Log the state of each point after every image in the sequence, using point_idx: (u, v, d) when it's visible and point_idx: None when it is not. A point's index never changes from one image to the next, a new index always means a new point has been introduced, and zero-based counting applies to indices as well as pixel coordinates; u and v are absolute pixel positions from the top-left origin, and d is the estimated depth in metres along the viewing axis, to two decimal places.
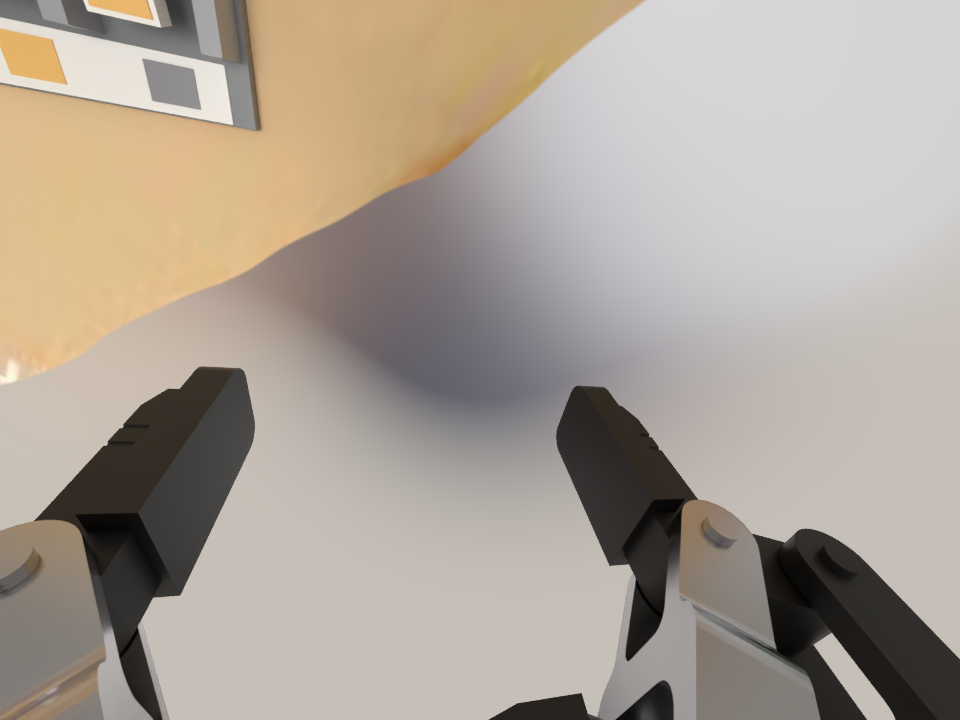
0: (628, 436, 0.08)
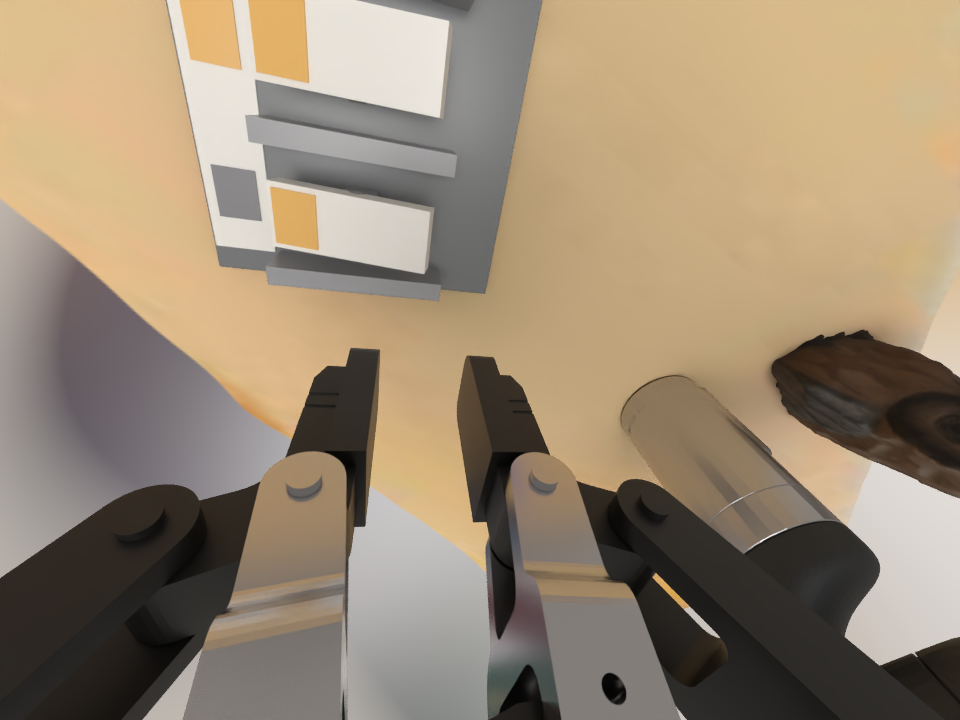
0: (494, 398, 0.08)
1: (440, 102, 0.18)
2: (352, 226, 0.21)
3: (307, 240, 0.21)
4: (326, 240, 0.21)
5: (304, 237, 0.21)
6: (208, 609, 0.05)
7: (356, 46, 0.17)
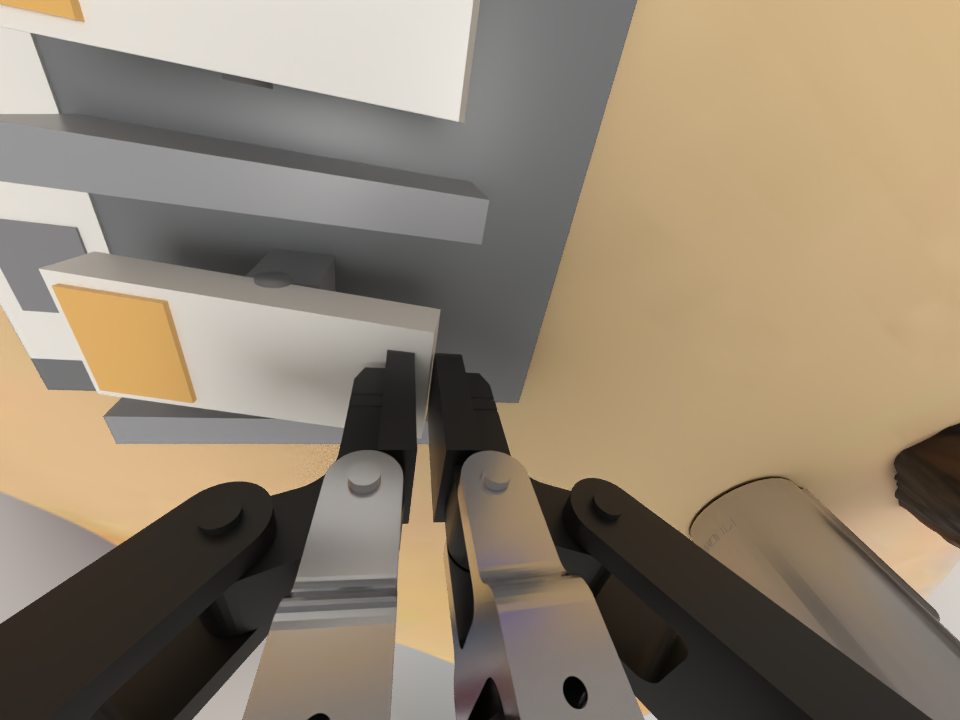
0: (456, 396, 0.08)
1: (461, 78, 0.06)
2: (262, 359, 0.10)
3: (167, 386, 0.10)
4: (210, 384, 0.10)
5: (159, 381, 0.10)
6: (276, 602, 0.05)
7: None
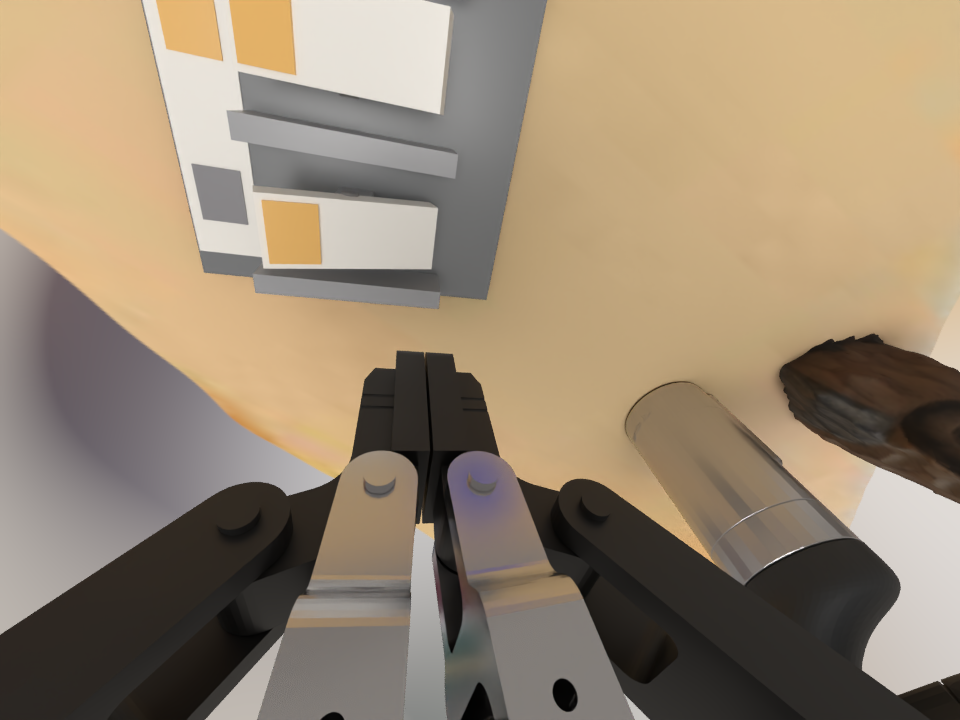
0: (445, 396, 0.08)
1: (440, 97, 0.16)
2: (359, 232, 0.20)
3: (309, 255, 0.19)
4: (330, 251, 0.20)
5: (305, 252, 0.19)
6: (292, 602, 0.05)
7: (347, 34, 0.15)
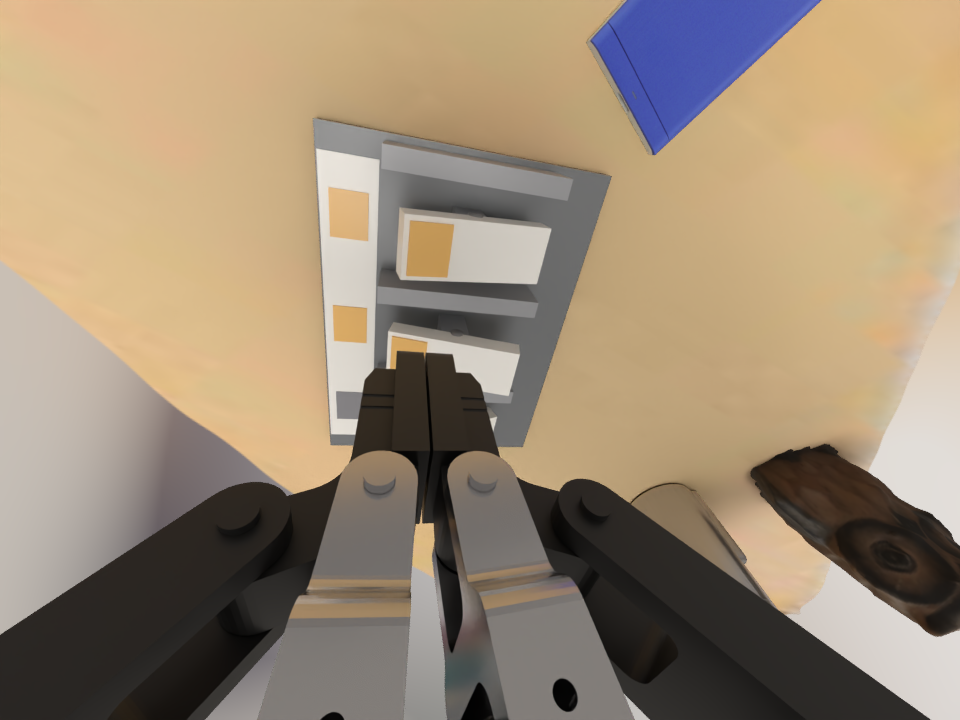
0: (445, 396, 0.08)
1: None
2: None
3: None
4: None
5: None
6: (293, 603, 0.05)
7: (457, 363, 0.26)
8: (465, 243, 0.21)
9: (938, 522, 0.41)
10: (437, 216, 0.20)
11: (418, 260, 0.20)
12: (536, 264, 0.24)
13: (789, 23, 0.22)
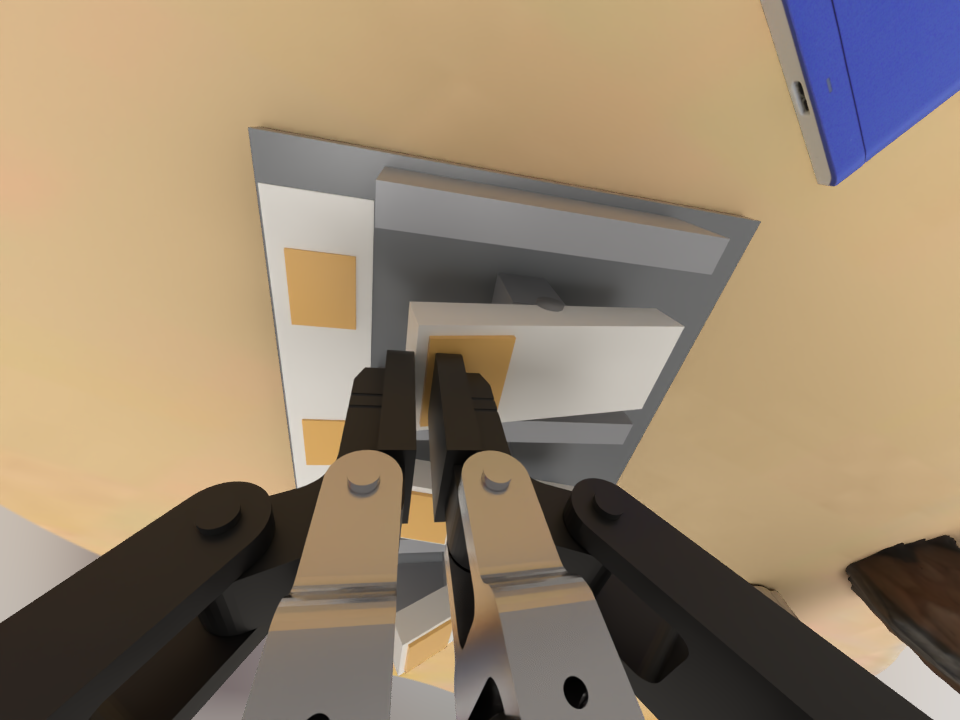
0: (457, 396, 0.08)
1: None
2: None
3: (438, 648, 0.19)
4: None
5: (436, 649, 0.19)
6: (275, 602, 0.05)
7: None
8: (532, 363, 0.11)
9: None
10: (483, 322, 0.10)
11: None
12: (647, 381, 0.13)
13: None
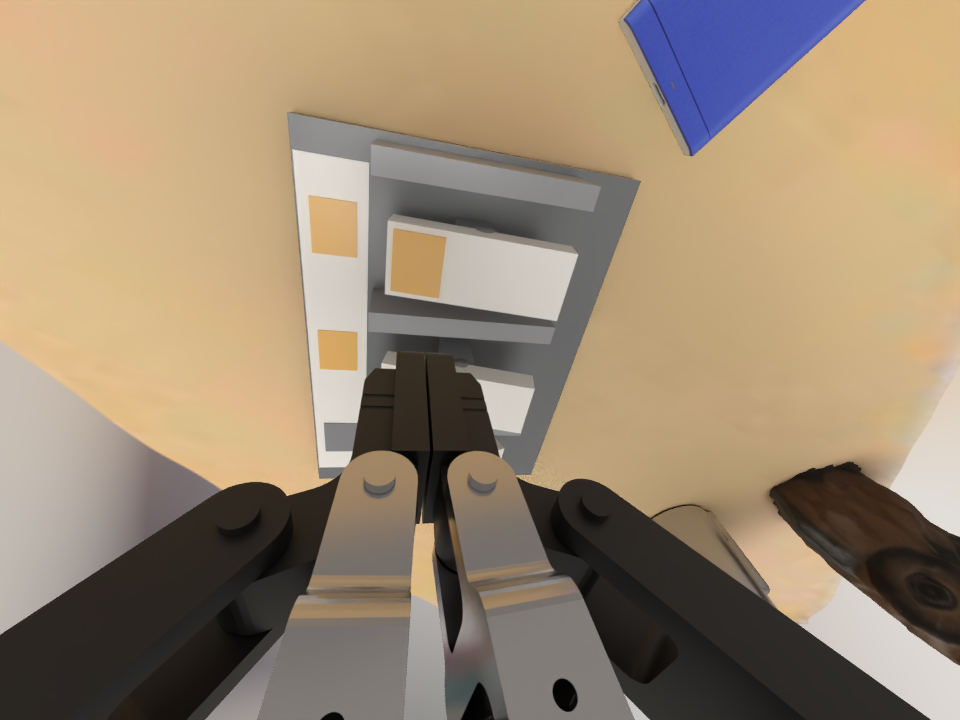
0: (446, 396, 0.08)
1: (522, 425, 0.23)
2: None
3: None
4: None
5: None
6: (292, 602, 0.05)
7: None
8: (461, 261, 0.18)
9: None
10: (428, 226, 0.17)
11: (403, 274, 0.18)
12: (556, 296, 0.19)
13: None
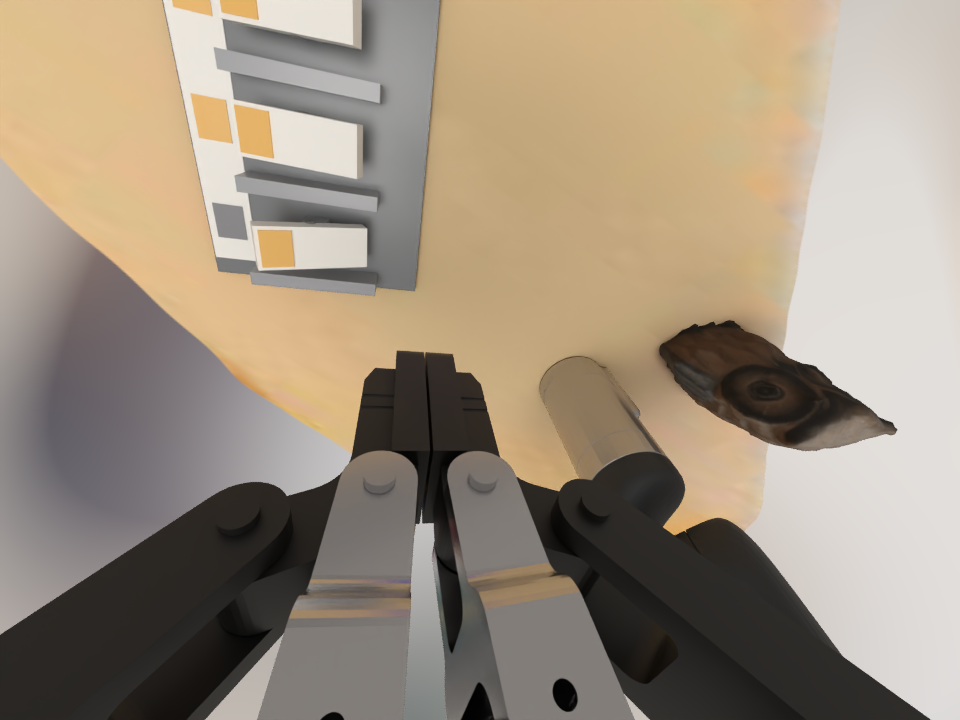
0: (446, 396, 0.08)
1: (356, 170, 0.28)
2: (317, 246, 0.32)
3: (286, 261, 0.31)
4: (299, 258, 0.32)
5: (284, 259, 0.31)
6: (292, 603, 0.05)
7: (301, 138, 0.27)
8: None
9: (820, 372, 0.43)
10: None
11: None
12: (346, 17, 0.23)
13: None
